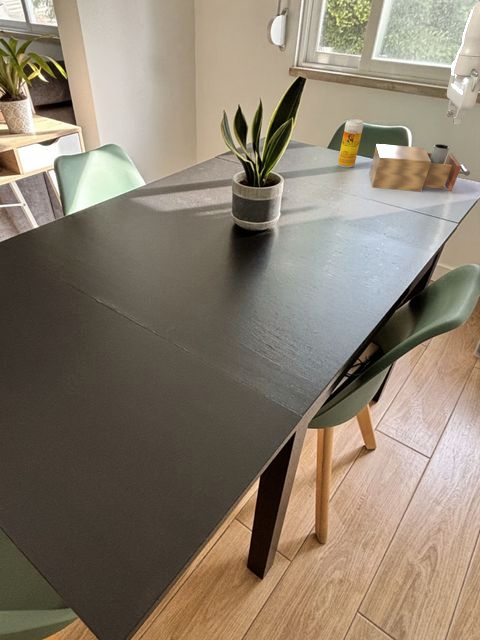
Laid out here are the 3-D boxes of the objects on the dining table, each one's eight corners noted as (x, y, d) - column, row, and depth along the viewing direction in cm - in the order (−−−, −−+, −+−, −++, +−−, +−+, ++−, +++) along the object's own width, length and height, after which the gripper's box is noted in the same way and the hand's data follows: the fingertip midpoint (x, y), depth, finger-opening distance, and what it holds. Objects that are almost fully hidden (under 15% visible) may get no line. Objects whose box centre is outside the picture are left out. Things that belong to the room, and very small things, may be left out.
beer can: (337, 167, 156) (346, 122, 146) (337, 162, 161) (346, 118, 151) (354, 169, 155) (364, 123, 145) (354, 163, 160) (364, 119, 150)
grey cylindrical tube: (424, 175, 145) (435, 143, 139) (438, 178, 144) (450, 145, 137) (422, 179, 143) (433, 146, 136) (436, 182, 141) (448, 149, 134)
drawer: (457, 178, 147) (466, 154, 142) (466, 192, 138) (476, 167, 132) (400, 173, 150) (407, 149, 145) (405, 187, 140) (412, 162, 135)
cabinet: (414, 176, 150) (424, 147, 144) (421, 191, 140) (431, 161, 133) (369, 172, 153) (376, 144, 146) (372, 187, 142) (379, 157, 136)
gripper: (492, 73, 114) (471, 129, 123) (473, 62, 129) (456, 113, 138) (467, 72, 115) (448, 128, 124) (451, 61, 130) (436, 112, 139)
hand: (452, 120), depth 131 cm, fingers open, 8 cm apart
